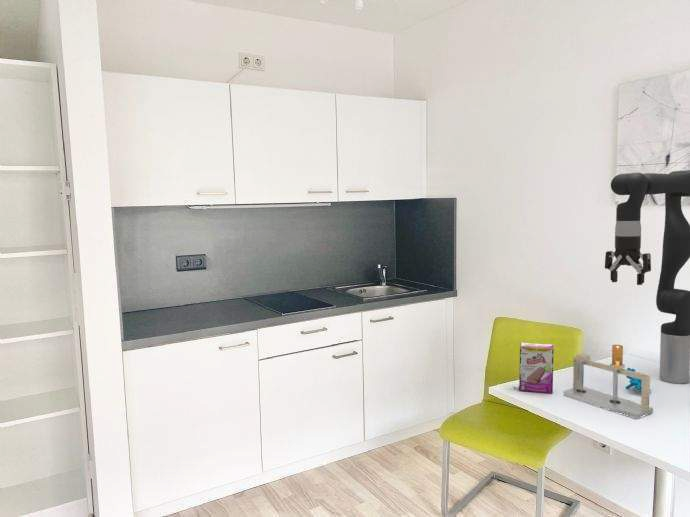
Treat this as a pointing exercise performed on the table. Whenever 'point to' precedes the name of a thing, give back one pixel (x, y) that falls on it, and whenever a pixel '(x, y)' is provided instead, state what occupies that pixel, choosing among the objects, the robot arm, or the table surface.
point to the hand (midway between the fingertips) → (626, 283)
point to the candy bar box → (536, 367)
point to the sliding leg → (616, 367)
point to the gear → (634, 381)
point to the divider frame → (606, 399)
